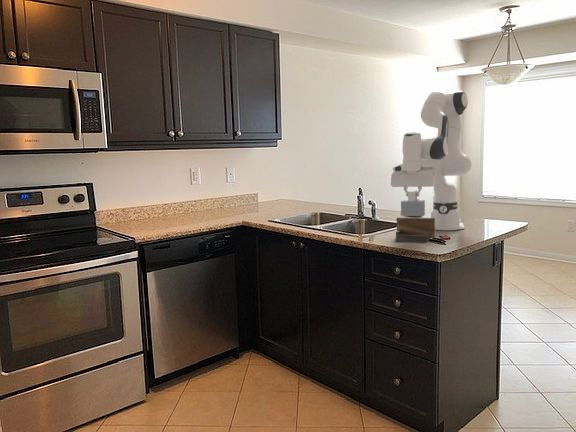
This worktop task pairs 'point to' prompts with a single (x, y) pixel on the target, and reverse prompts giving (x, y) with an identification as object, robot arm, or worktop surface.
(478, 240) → the worktop surface
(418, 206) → the grey stepped block
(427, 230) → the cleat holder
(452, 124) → the robot arm
